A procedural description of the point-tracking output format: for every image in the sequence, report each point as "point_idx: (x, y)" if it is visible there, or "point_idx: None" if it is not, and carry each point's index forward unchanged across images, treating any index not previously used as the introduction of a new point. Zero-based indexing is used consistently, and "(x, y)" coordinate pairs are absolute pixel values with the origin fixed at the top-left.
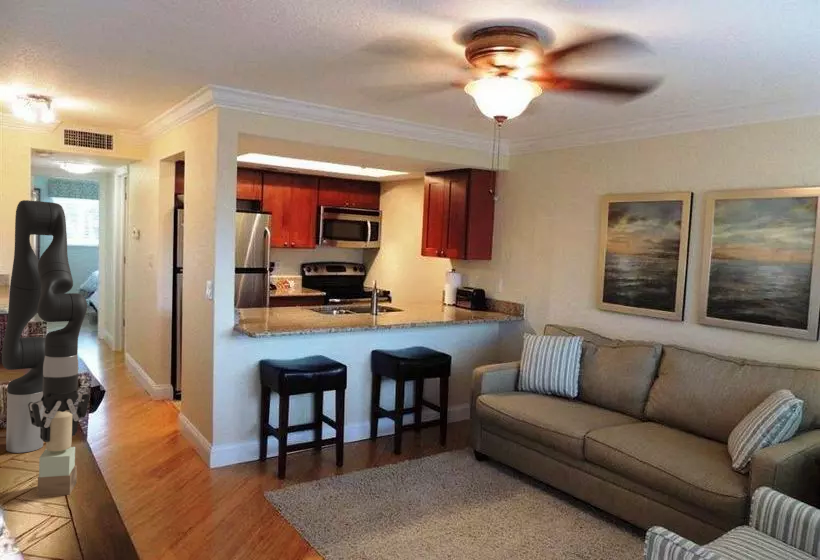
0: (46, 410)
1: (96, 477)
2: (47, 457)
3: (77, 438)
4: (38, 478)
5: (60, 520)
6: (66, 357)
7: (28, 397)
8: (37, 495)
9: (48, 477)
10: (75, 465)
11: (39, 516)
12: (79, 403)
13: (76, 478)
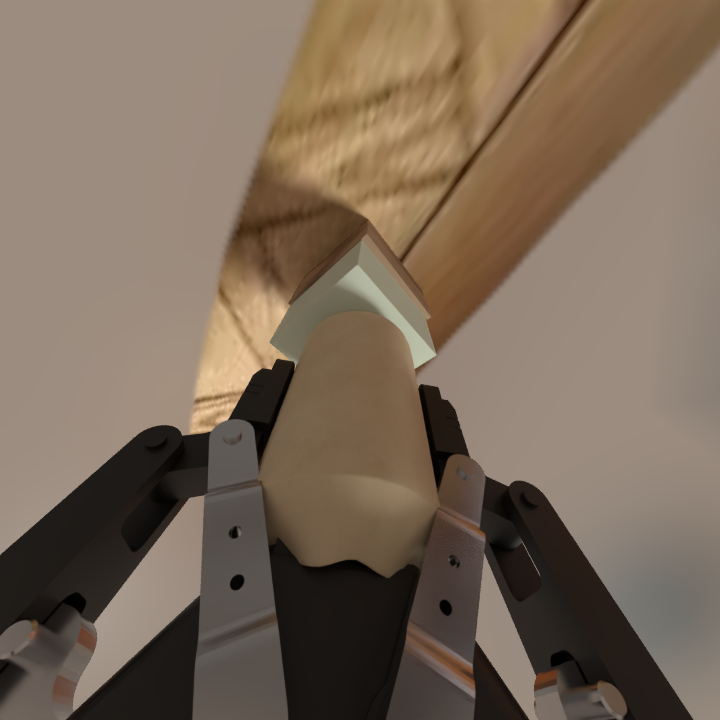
0: (223, 553)
1: (478, 305)
2: (293, 360)
3: None
4: (290, 303)
5: None
6: None
7: None
8: (301, 281)
9: None
10: (425, 317)
11: (253, 369)
12: (563, 624)
13: (423, 296)
